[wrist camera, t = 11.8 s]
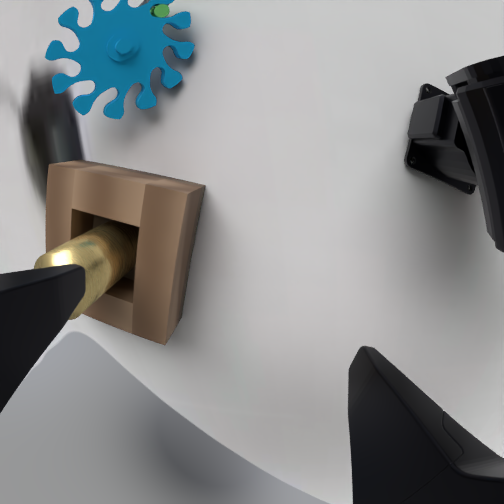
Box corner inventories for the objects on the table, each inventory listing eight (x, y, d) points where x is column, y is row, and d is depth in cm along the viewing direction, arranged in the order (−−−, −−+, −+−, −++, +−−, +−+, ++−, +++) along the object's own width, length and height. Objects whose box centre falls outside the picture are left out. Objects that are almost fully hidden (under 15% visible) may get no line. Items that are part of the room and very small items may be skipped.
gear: (140, 145, 18) (14, 84, 11) (122, 128, 22) (25, 79, 14) (235, 21, 16) (130, -59, 8) (199, 26, 20) (113, -34, 12)
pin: (147, 225, 21) (83, 265, 13) (141, 274, 22) (85, 329, 14) (102, 213, 21) (31, 245, 13) (99, 260, 22) (37, 305, 15)
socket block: (205, 185, 20) (187, 193, 17) (181, 317, 24) (165, 345, 20) (80, 159, 20) (48, 164, 17) (74, 279, 24) (49, 298, 20)
